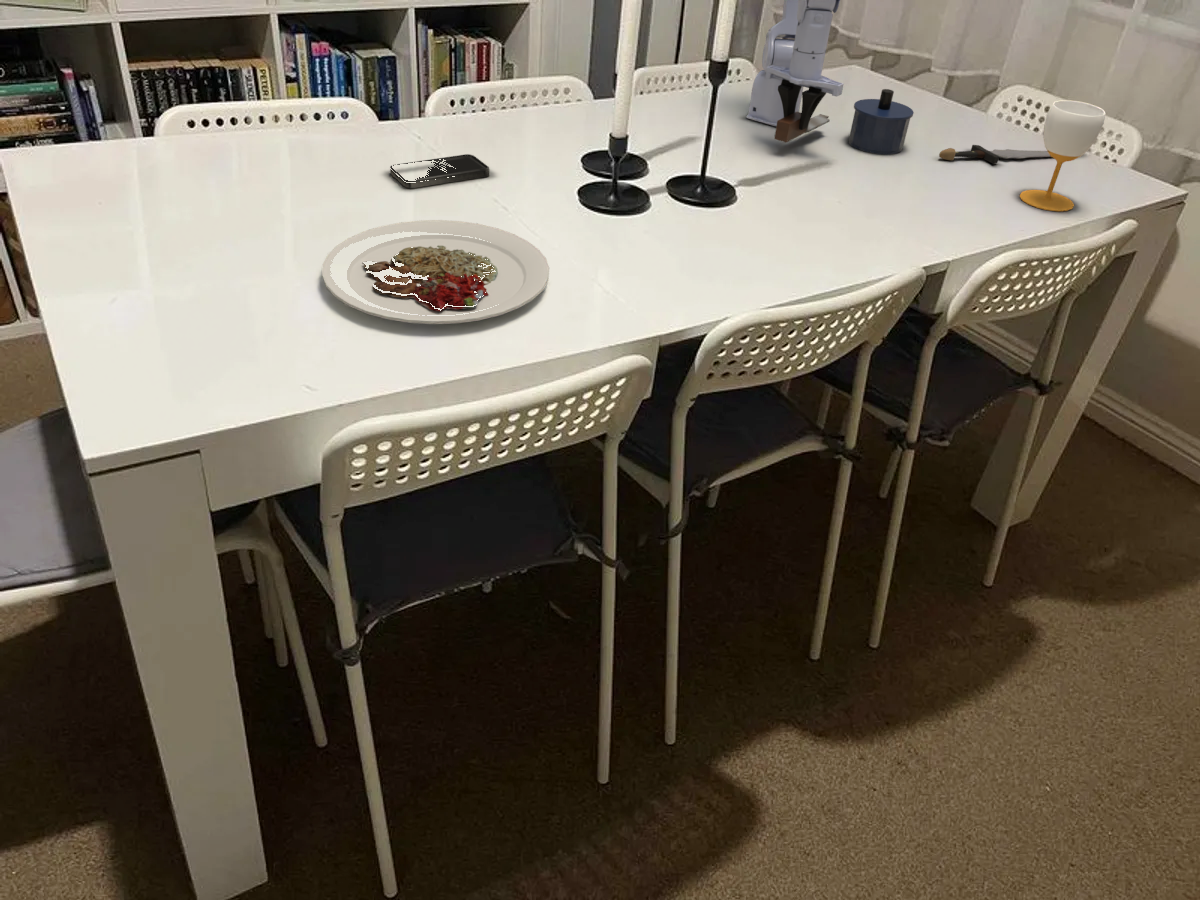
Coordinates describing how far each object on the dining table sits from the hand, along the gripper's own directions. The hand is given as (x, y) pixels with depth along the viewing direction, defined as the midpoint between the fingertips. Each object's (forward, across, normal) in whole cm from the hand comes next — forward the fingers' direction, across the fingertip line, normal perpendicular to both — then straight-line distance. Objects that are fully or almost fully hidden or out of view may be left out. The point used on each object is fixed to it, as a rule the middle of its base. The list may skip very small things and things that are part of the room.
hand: (795, 126), depth 182 cm
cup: (+4, +45, +10) cm, 46 cm away
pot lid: (-2, +10, +14) cm, 18 cm away
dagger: (+4, +33, +28) cm, 43 cm away
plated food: (+4, -9, -84) cm, 84 cm away
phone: (+4, -35, -57) cm, 67 cm away
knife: (+1, 0, +3) cm, 4 cm away
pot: (+4, +11, +14) cm, 18 cm away
